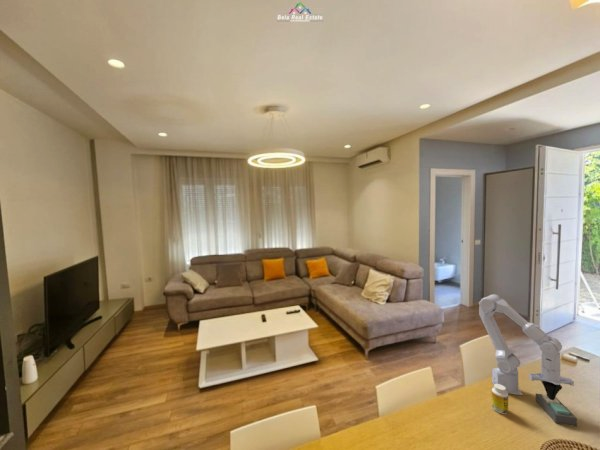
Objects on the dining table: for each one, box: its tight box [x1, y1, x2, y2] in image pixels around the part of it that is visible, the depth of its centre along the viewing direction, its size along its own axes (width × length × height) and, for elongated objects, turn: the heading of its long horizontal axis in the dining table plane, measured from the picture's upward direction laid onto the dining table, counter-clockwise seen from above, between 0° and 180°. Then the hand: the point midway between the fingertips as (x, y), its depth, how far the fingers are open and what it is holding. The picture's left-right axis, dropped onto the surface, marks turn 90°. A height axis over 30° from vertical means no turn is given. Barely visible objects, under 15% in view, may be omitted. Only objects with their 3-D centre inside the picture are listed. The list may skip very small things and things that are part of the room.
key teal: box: [550, 403, 571, 415], centre depth 103 cm, size 4×4×2 cm
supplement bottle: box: [491, 384, 509, 415], centre depth 108 cm, size 6×6×10 cm
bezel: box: [535, 393, 578, 425], centre depth 105 cm, size 7×12×2 cm, turn 164°
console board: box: [535, 398, 578, 427], centre depth 105 cm, size 7×12×1 cm, turn 164°
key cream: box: [541, 393, 561, 404], centre depth 108 cm, size 4×4×2 cm
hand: (550, 398), depth 108 cm, fingers closed, pressing on key cream
